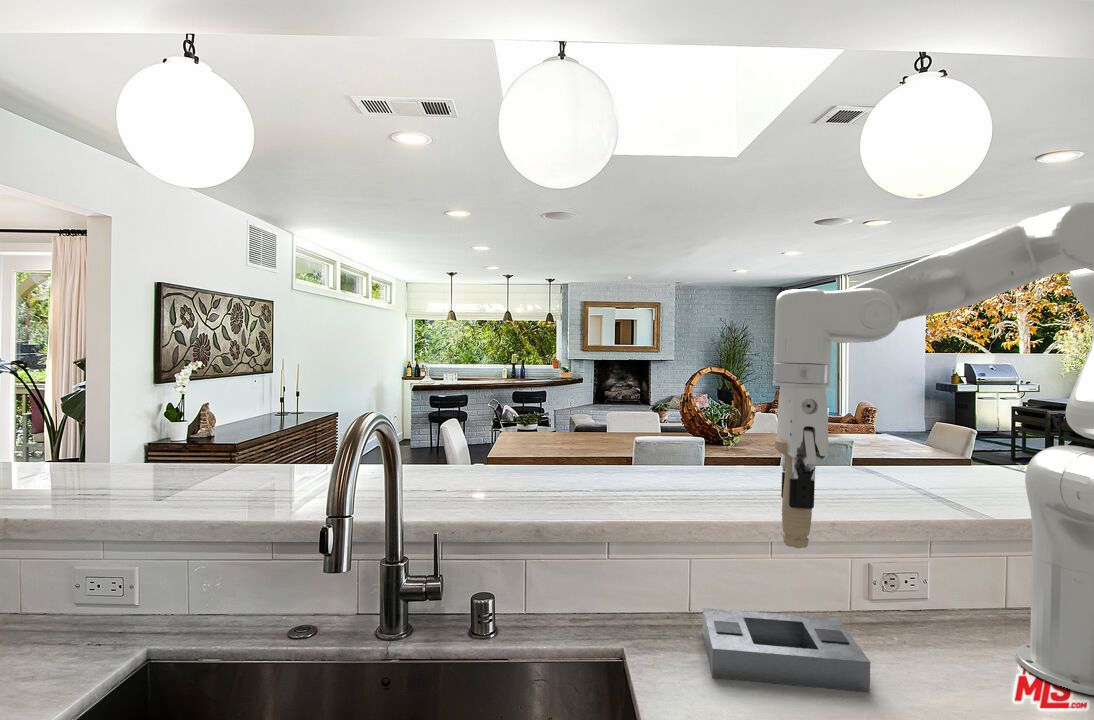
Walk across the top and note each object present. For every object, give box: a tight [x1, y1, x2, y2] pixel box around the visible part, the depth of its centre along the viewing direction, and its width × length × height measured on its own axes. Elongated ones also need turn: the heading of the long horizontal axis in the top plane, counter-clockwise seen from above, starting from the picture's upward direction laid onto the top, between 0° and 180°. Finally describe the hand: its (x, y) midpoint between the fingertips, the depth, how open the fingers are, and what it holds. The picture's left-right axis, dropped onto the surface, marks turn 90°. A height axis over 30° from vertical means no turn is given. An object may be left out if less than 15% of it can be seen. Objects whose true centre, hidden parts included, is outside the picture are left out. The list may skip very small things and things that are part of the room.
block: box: [702, 607, 871, 693], centre depth 86 cm, size 20×13×4 cm, turn 81°
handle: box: [774, 438, 818, 549], centre depth 86 cm, size 5×6×15 cm
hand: (797, 502), depth 86 cm, fingers closed on handle, 3 cm apart
